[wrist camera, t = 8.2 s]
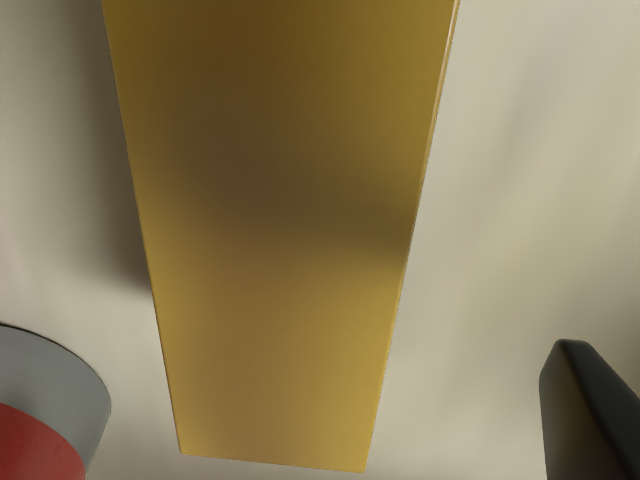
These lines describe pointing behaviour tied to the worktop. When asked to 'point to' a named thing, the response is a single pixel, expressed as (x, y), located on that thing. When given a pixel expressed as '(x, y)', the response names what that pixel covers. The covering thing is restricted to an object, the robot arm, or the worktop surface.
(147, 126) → the golden brown bar
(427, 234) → the worktop surface
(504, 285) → the worktop surface
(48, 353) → the tin can
